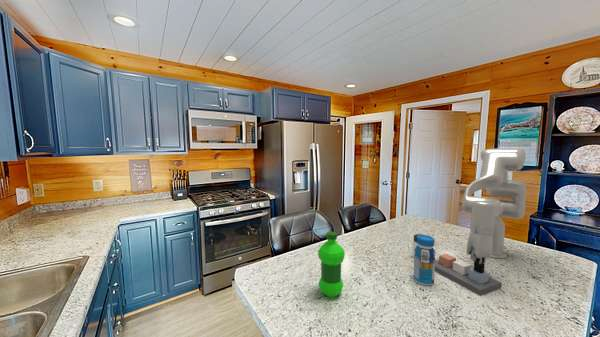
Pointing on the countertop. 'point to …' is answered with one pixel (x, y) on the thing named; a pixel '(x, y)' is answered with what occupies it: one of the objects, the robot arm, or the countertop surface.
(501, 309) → the countertop surface
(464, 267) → the ivory key
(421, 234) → the jar
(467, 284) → the slotted grey plate
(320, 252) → the plastic bottle
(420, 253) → the beverage bottle
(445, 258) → the brick key
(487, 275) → the slate key
